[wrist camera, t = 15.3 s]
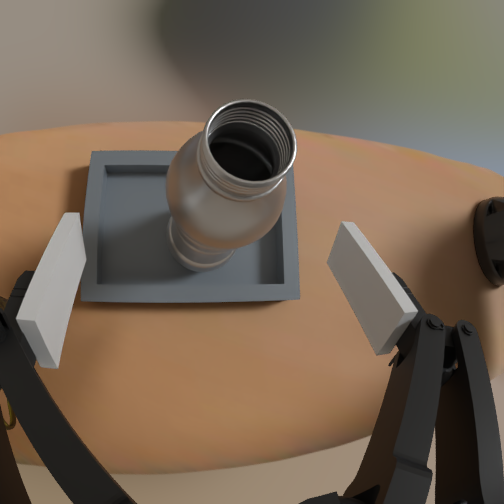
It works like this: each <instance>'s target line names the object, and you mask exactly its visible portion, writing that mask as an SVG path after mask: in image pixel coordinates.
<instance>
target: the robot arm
mask: <svg viewBox="0 0 504 504" xmlns="http://www.w3.org/2000/svg"><path fill="white" fill-rule="evenodd" d="M474 241H475V247H476V252H477V256H478V260H479V263H480V265H481V268H482V270H483V272H484V274H485V275H486V277H487V278H488V279H489V281H490V282H492V283H493V284H495V285H504V197H492V198H489V199H486V200H483V201H482V202H481V203H480V204H479V206H478V208H477V210H476V214H475V219H474ZM85 262H86V254H85V248H84V242H83V236H82V229H81V222H80V214H79V213H64V215H63V217H62V219H61V221H60V222H59V224H58V226H57V228H56V230H55V232H54V234H53V236H52V238H51V240H50V242H49V244H48V246H47V248H46V250H45V252H44V254H43V256H42V258H41V260H40V262H39V265H38V267H37V269H36V271H25V272H24V273H23V274H22V275H21V276H20V277H19V278H18V279H17V282H16V284H15V286H14V290H12V293H11V295H10V297H9V299H8V302H7V304H6V306H5V309H4V311H3V310H2V308H0V389H1V388H2V389H3V391H4V393H5V395H6V397H7V399H8V401H9V403H10V405H11V407H12V409H13V411H14V413H15V415H16V417H17V419H18V421H19V423H20V424H21V426H22V428H23V430H24V432H25V433H26V435H27V437H28V438H29V440H30V442H31V443H32V445H33V447H34V448H35V450H36V452H37V453H38V455H39V456H40V458H41V459H42V461H43V462H44V464H45V465H46V467H47V468H48V470H49V471H50V473H51V474H52V476H53V477H54V478H55V480H56V481H57V483H58V484H59V485H60V487H61V488H62V489H63V491H64V492H65V493H66V495H67V496H68V497H69V499H70V500H71V501H72V502H73V504H137V503H136V502H135V501H134V500H133V499H132V498H131V497H130V496H129V495H128V494H127V493H126V492H125V491H124V490H123V489H122V488H121V487H120V485H119V484H118V483H117V482H116V481H115V480H114V479H113V478H112V477H111V475H110V474H109V473H108V472H107V471H106V470H105V468H104V467H103V466H102V465H101V464H100V463H99V461H98V460H97V459H96V458H95V457H94V455H93V454H92V453H91V452H90V450H89V449H88V448H87V446H86V445H85V444H84V443H83V441H82V440H81V439H80V437H79V436H78V435H77V433H76V432H75V431H74V429H73V428H72V426H71V425H70V424H69V422H68V421H67V419H66V418H65V416H64V415H63V413H62V412H61V411H60V409H59V408H58V406H57V404H56V403H55V401H54V400H53V398H52V397H51V395H50V394H49V392H48V390H47V389H46V387H45V385H44V384H43V382H42V380H41V379H40V377H39V375H38V374H37V372H36V370H35V368H34V365H35V361H36V359H37V361H38V363H39V365H40V366H41V367H45V368H54V369H58V366H59V361H60V356H61V352H62V347H63V343H64V338H65V334H66V330H67V326H68V322H69V318H70V314H71V310H72V306H73V303H74V299H75V295H76V292H77V288H78V285H79V282H80V278H81V275H82V272H83V269H84V266H85ZM327 264H328V265H329V267H330V269H331V271H332V273H333V274H334V276H335V278H336V280H337V282H338V283H339V285H340V287H341V289H342V291H343V292H344V294H345V296H346V298H347V300H348V302H349V304H350V305H351V307H352V309H353V311H354V313H355V315H356V317H357V319H358V320H359V322H360V324H361V326H362V328H363V330H364V332H365V334H366V336H367V338H368V340H369V342H370V344H371V346H372V348H373V350H374V351H375V353H376V355H383V354H388V353H390V352H391V351H392V349H393V348H394V346H395V345H396V346H397V347H398V349H399V351H398V352H397V354H396V355H395V356H394V358H393V359H392V360H391V362H390V363H389V365H388V366H391V365H392V363H394V364H393V368H392V371H391V375H390V379H389V382H388V386H387V389H386V393H385V396H384V399H383V403H382V406H381V409H380V412H379V415H378V418H377V422H376V424H375V427H374V430H373V433H372V436H371V439H370V442H369V445H368V447H367V450H366V453H365V455H364V458H363V460H362V463H361V466H360V468H359V471H358V473H357V475H356V477H355V479H354V480H353V482H352V483H351V484H350V485H349V487H348V488H347V489H346V491H345V493H344V494H343V496H338V494H337V492H333V493H329V494H325V495H322V496H318V497H314V498H310V499H307V500H305V501H303V502H301V503H299V504H425V503H426V499H427V496H428V492H429V489H430V485H431V481H432V474H433V473H432V470H430V469H429V468H427V461H428V456H429V452H430V447H431V443H432V438H433V432H434V428H435V436H436V484H435V504H504V477H503V463H502V451H501V443H500V435H499V428H498V421H497V415H496V409H495V404H494V398H493V393H492V388H491V383H490V379H489V375H488V370H487V366H486V362H485V358H484V354H483V351H482V347H481V343H480V340H479V336H478V333H477V331H476V329H475V327H474V326H473V325H472V324H471V323H470V322H468V321H465V320H460V321H458V322H457V324H456V325H455V326H454V327H450V326H445V325H444V323H443V322H442V321H441V320H440V319H439V318H438V317H436V316H435V315H432V314H426V313H425V311H424V310H423V308H422V307H421V305H420V304H419V302H418V301H417V299H416V298H415V297H414V295H413V294H412V292H411V291H410V289H409V288H407V285H406V284H405V282H404V281H403V280H402V279H401V278H400V277H399V276H398V275H397V274H395V273H391V271H390V270H389V268H388V267H387V266H386V264H385V263H384V262H383V260H382V259H381V258H380V256H379V255H378V254H377V252H376V251H375V250H374V248H373V247H372V246H371V244H370V243H369V242H368V240H367V239H366V238H365V236H364V235H363V234H362V232H361V231H360V230H359V229H358V227H357V226H356V225H355V223H354V222H342V221H341V224H340V227H339V230H338V233H337V236H336V239H335V241H334V244H333V247H332V250H331V253H330V255H329V258H328V261H327ZM457 362H458V368H457V369H456V368H455V364H456V363H457ZM0 504H31V501H30V499H29V496H28V494H27V492H26V489H25V486H24V484H23V481H22V479H21V476H20V473H19V470H18V467H17V464H16V461H15V458H14V455H13V452H12V449H11V445H10V442H9V438H8V435H7V431H6V427H5V423H4V419H3V415H2V411H1V406H0Z"/></svg>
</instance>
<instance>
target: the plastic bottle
mask: <svg viewBox="0 0 504 504" xmlns="http://www.w3.org/2000/svg"><path fill="white" fill-rule="evenodd" d="M296 153H297V141H296V136H295V133H294V130H293V128H292V126H291V125H290V123H289V121H288V120H287V119H286V118H285V116H284V115H283V114H282V113H281V112H279V111H278V110H277V109H276V108H274V107H272V106H271V105H269V104H267V103H264V102H261V101H258V100H252V99H239V100H233V101H230V102H228V103H225V104H224V105H222V106H220V107H219V108H218V109H217V110H216V111H214V112H213V113H212V115H211V116H210V118H209V119H208V121H207V122H206V125H205V127H204V130H203V131H201V132H199V133H198V134H196V135H195V136H193V137H192V138H190V139H189V140H188V141H187V142H186V143H185V144H184V145H183V146H182V147H181V148H180V149H179V151H178V152H177V153H176V155H175V156H174V158H173V160H172V161H171V164H170V166H169V169H168V171H167V176H166V183H165V188H166V198H167V203H168V207H169V211H170V213H171V217H170V219H169V222H168V225H167V231H166V238H167V244H168V247H169V250H170V252H171V254H172V256H173V257H174V258H175V259H176V261H177V262H178V263H180V264H181V265H182V266H184V267H185V268H187V269H189V270H192V271H196V272H210V271H213V270H216V269H219V268H220V267H222V266H224V265H225V264H226V263H227V262H228V261H230V259H231V258H232V257H233V255H234V254H235V251H236V249H237V248H241V247H244V246H247V245H249V244H251V243H253V242H255V241H257V240H258V239H260V238H262V237H263V236H264V235H265V234H266V233H268V232H269V231H270V230H271V229H272V227H273V226H274V225H275V223H276V222H277V220H278V218H279V216H280V214H281V212H282V209H283V205H284V201H285V197H286V188H287V180H286V174H287V173H288V171H289V170H290V169H291V167H292V165H293V162H294V160H295V157H296Z"/></svg>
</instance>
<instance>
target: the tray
mask: <svg viewBox="0 0 504 504" xmlns="http://www.w3.org/2000/svg"><path fill="white" fill-rule="evenodd" d="M177 152H178V151H92V153H91V160H90V167H89V174H88V182H87V190H86V199H85V209H84V221H83V235H82V236H83V242H84V248H85V254H86V262H85V266H84V269H83V272H82V275H81V301H91V302H148V303H184V302H243V301H273V300H297V299H300V285H299V259H298V238H297V219H296V202H295V187H294V172H293V165H292V167H291V169H290V170H289V171H288V173H287V174H286V180H287V188H286V197H285V201H284V205H283V209H282V212H281V214H280V216H279V218H278V220H277V222H276V223H275V225H274V226H273V227H272V229H271V230H270V231H269V232H268V233H266V234H265V235H264V236H263V237H262V238H260V239H258V240H257V241H255V242H253V243H251V244H249V245H247V246H244V247H241V248H237V249H236V251H235V254H234V255H233V257H232V258H231V259H230V261H228V262H227V263H226V264H225V265H224V266H222V267H220V268H219V269H216V270H213V271H210V272H196V271H192V270H189V269H187V268H185V267H184V266H182V265H181V264H180V263H178V262H177V261H176V259H175V258H174V257H173V256H172V254H171V252H170V250H169V247H168V244H167V238H166V231H167V225H168V222H169V219H170V217H171V213H170V211H169V207H168V203H167V198H166V188H165V183H166V176H167V171H168V169H169V166H170V164H171V161H172V160H173V158H174V156H175V155H176V153H177Z"/></svg>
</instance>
